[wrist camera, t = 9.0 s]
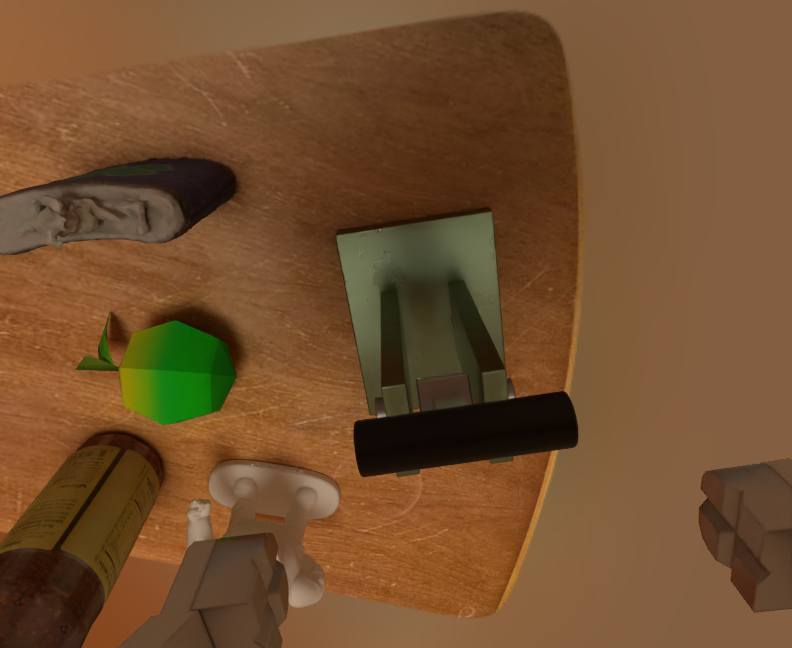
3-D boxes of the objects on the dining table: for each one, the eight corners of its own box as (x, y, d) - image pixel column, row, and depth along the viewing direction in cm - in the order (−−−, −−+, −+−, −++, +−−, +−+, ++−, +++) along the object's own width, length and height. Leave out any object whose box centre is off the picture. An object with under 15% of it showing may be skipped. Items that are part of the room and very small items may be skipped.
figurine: (349, 454, 38) (336, 600, 27) (332, 528, 40) (314, 689, 29) (216, 432, 37) (146, 573, 26) (207, 509, 40) (139, 668, 28)
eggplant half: (82, 218, 32) (-54, 271, 22) (66, 165, 30) (-84, 196, 21) (243, 204, 32) (180, 251, 22) (233, 151, 30) (162, 174, 21)
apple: (215, 413, 28) (32, 404, 28) (236, 445, 34) (84, 438, 33) (237, 293, 31) (73, 282, 31) (253, 340, 37) (114, 332, 36)
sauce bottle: (64, 481, 38) (-227, 833, 20) (92, 413, 36) (-203, 733, 18) (154, 516, 40) (-40, 876, 21) (186, 452, 38) (3, 787, 19)
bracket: (336, 230, 32) (310, 305, 20) (488, 206, 32) (553, 269, 20) (370, 406, 37) (365, 552, 25) (504, 387, 36) (564, 524, 25)
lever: (347, 405, 14) (361, 503, 13) (570, 373, 13) (586, 471, 13) (381, 383, 26) (388, 434, 26) (498, 366, 26) (506, 418, 25)
